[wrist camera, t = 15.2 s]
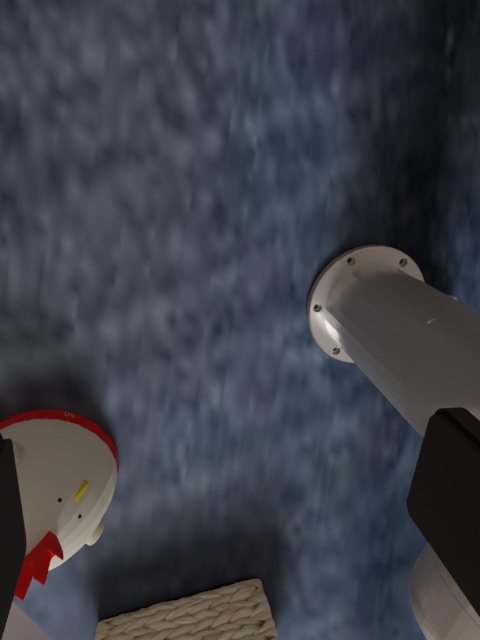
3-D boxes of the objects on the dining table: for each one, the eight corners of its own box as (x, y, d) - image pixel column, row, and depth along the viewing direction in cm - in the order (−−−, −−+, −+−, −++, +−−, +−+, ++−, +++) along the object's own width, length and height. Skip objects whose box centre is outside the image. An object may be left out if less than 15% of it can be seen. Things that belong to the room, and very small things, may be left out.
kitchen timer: (144, 470, 49) (144, 599, 36) (43, 536, 50) (5, 686, 36) (56, 384, 43) (15, 499, 30) (-57, 460, 44) (-147, 606, 31)
